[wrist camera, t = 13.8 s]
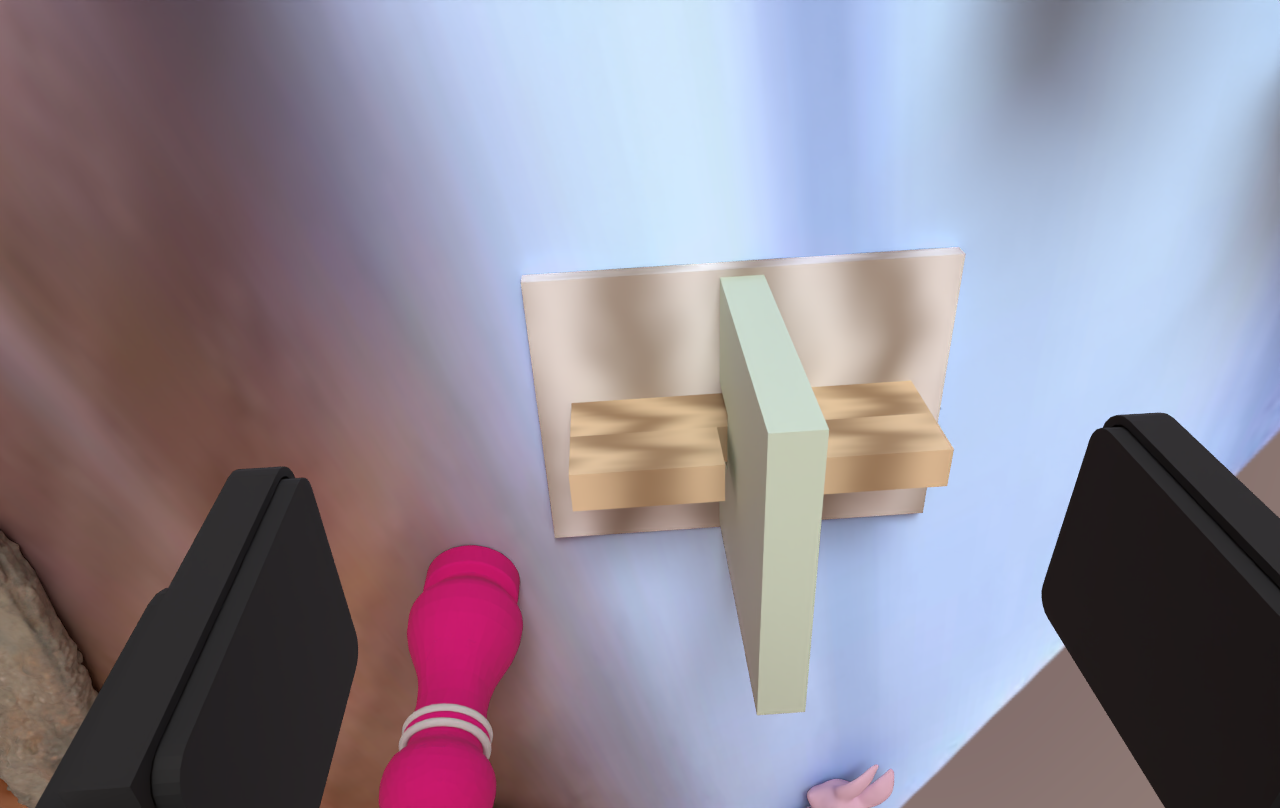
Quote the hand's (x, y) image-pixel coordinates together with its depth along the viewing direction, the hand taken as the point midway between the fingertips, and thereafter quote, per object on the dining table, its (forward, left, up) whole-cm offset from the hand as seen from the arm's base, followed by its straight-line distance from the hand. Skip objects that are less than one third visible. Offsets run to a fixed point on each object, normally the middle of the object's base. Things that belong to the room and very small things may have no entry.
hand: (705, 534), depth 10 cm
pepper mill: (-12, -34, -36) cm, 51 cm away
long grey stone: (-44, -42, -36) cm, 71 cm away
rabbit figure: (+14, -61, -36) cm, 72 cm away
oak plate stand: (+6, -21, -35) cm, 41 cm away
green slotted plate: (+6, -21, -34) cm, 41 cm away
